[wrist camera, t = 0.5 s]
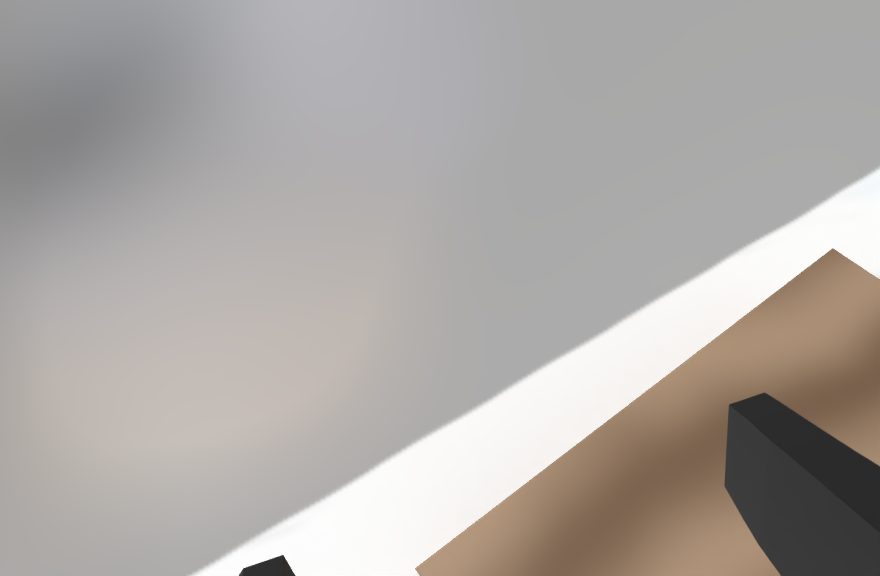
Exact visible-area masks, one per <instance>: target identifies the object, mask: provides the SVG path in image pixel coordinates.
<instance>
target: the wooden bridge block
mask: <svg viewBox="0 0 880 576" xmlns="http://www.w3.org/2000/svg"><path fill="white" fill-rule="evenodd" d="M764 392H765V393H767V394H768V395H770V396H772V397H773V398H775V399H776V400H778V401H780V402H781V403H783V404H784V405H786V406H787V407H789V408H790V409H792V410H793V411H795V412H796V413H798V414H799V415H801V416H802V417H804V418H805V419H807V420H809V421H810V422H812V423H813V424H815V425H816V426H818V427H819V428H821V429H822V430H824V431H825V432H827V433H828V434H830V435H832V436H833V437H835V438H836V439H838V440H839V441H841V442H842V443H844V444H846V445H847V446H849V447H850V448H852V449H853V450H855V451H857V452H858V453H860V454H861V455H863V456H864V457H866V458H868V459H869V460H871V461H872V462H874V463H876V464H877V465H879V466H880V280H879V279H878V278H876V277H875V276H873V275H872V274H870V273H869V272H867V271H866V270H864V269H863V268H861V267H860V266H858V265H857V264H855V263H854V262H852V261H851V260H849V259H848V258H846V257H845V256H844V255H842V254H841V253H839V252H838V251H836V250H835V249H831V250H830V251H829V252H827V253H826V254H825V255H824V256H822V257H821V258H820V259H818V260H817V261H816V262H814V263H813V264H812V265H811V266H809V267H808V268H807V269H805V270H804V271H803V272H801V273H800V274H799V275H797V276H796V277H795V278H794V279H792V280H791V281H790V282H788V283H787V284H786V285H784V286H783V287H782V288H781V289H779V290H778V291H777V292H775V293H774V294H773V295H771V296H770V297H769V298H767V299H766V300H765V301H764V302H762V303H761V304H760V305H758V306H757V307H756V308H754V309H753V310H752V311H750V312H749V313H748V314H747V315H745V316H744V317H743V318H741V319H740V320H739V321H737V322H736V323H735V324H734V325H732V326H731V327H730V328H728V329H727V330H726V331H724V332H723V333H722V334H720V335H719V336H718V337H717V338H715V339H714V340H713V341H711V342H710V343H709V344H707V345H706V346H705V347H704V348H702V349H701V350H700V351H698V352H697V353H696V354H694V355H693V356H692V357H690V358H689V359H688V360H687V361H685V362H684V363H683V364H681V365H680V366H679V367H677V368H676V369H675V370H673V371H672V372H671V373H670V374H668V375H667V376H666V377H664V378H663V379H662V380H660V381H659V382H658V383H657V384H655V385H654V386H653V387H651V388H650V389H649V390H647V391H646V392H645V393H643V394H642V395H641V396H640V397H638V398H637V399H636V400H634V401H633V402H632V403H630V404H629V405H628V406H627V407H625V408H624V409H623V410H621V411H620V412H619V413H617V414H616V415H615V416H613V417H612V418H611V419H610V420H608V421H607V422H606V423H604V424H603V425H602V426H600V427H599V428H598V429H596V430H595V431H594V432H593V433H591V434H590V435H589V436H587V437H586V438H585V439H583V440H582V441H581V442H580V443H578V444H577V445H576V446H574V447H573V448H572V449H570V450H569V451H568V452H566V453H565V454H564V455H563V456H561V457H560V458H559V459H557V460H556V461H555V462H553V463H552V464H551V465H550V466H548V467H547V468H546V469H544V470H543V471H542V472H540V473H539V474H538V475H536V476H535V477H534V478H533V479H531V480H530V481H529V482H527V483H526V484H525V485H523V486H522V487H521V488H519V489H518V490H517V491H516V492H514V493H513V494H512V495H510V496H509V497H508V498H506V499H505V500H504V501H503V502H501V503H500V504H499V505H497V506H496V507H495V508H493V509H492V510H491V511H489V512H488V513H487V514H486V515H484V516H483V517H482V518H480V519H479V520H478V521H476V522H475V523H474V524H473V525H471V526H470V527H469V528H467V529H466V530H465V531H463V532H462V533H461V534H459V535H458V536H457V537H456V538H454V539H453V540H452V541H450V542H449V543H448V544H446V545H445V546H444V547H442V548H441V549H440V550H439V551H437V552H436V553H435V554H433V555H432V556H431V557H429V558H428V559H427V560H426V561H424V562H423V563H422V564H420V565H419V566H418V567H416V568H415V569H416V571H417V572H418V574H419V575H420V576H781V575H780V574H779V572H778V571H777V570H776V568H775V567H774V566H773V564H772V563H771V561H770V560H769V559H768V557H767V556H766V555H765V553H764V552H763V550H762V549H761V548H760V546H759V545H758V543H757V542H756V540H755V538H754V537H753V535H752V533H751V532H750V530H749V528H748V527H747V525H746V523H745V521H744V520H743V518H742V516H741V515H740V513H739V511H738V509H737V508H736V506H735V504H734V502H733V500H732V499H731V497H730V495H729V493H728V492H727V490H726V488H725V486H724V483H725V465H726V447H727V429H728V410H729V404H732V403H735V402H738V401H741V400H744V399H747V398H750V397H752V396H755V395H758V394H761V393H764Z"/></svg>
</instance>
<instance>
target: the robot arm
mask: <svg viewBox="0 0 880 576" xmlns="http://www.w3.org/2000/svg"><path fill="white" fill-rule="evenodd" d="M724 486H725V488H726V490H727V492H728V493H729V495H730V497H731V499H732V500H733V502H734V504H735V506H736V508H737V509H738V511H739V513H740V515H741V516H742V518H743V520H744V521H745V523H746V525H747V527H748V528H749V530H750V532H751V533H752V535H753V537H754V538H755V540H756V542H757V543H758V545H759V546H760V548H761V549H762V550H763V552H764V553H765V555H766V556H767V557H768V559H769V560H770V561H771V563H772V564H773V566H774V567H775V568H776V570H777V571H778V572H779V574H780V575H781V576H880V466H879V465H877V464H876V463H874V462H872V461H871V460H869V459H868V458H866V457H864V456H863V455H861V454H860V453H858V452H857V451H855V450H853V449H852V448H850V447H849V446H847V445H846V444H844V443H842V442H841V441H839V440H838V439H836V438H835V437H833V436H832V435H830V434H828V433H827V432H825V431H824V430H822V429H821V428H819V427H818V426H816V425H815V424H813V423H812V422H810V421H809V420H807V419H805V418H804V417H802V416H801V415H799V414H798V413H796V412H795V411H793V410H792V409H790V408H789V407H787V406H786V405H784V404H783V403H781V402H780V401H778V400H776V399H775V398H773V397H772V396H770V395H768V394H767V393H765V392H764V393H761V394H758V395H755V396H752V397H750V398H747V399H744V400H741V401H738V402H735V403H732V404H729V410H728V429H727V447H726V465H725V483H724ZM239 576H295V574H294V573H293V571H292V569H291V568H290V566H289V564H288V562H287V561H286V559H285V557H284V556H283V555H282V556H279V557H276V558H273V559H270V560H267V561H264V562H261V563H258V564H255V565H252V566H249V567H246V568H244V569H243V570H242V572H241V573H240V574H239Z"/></svg>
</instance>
